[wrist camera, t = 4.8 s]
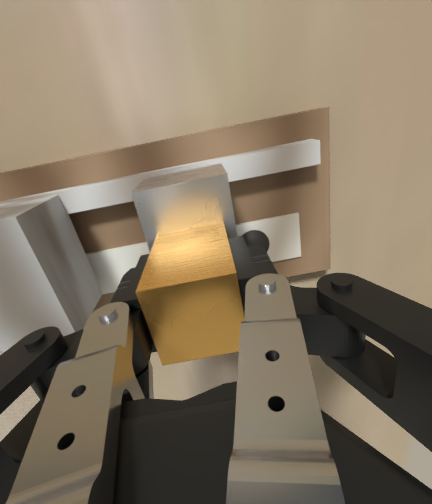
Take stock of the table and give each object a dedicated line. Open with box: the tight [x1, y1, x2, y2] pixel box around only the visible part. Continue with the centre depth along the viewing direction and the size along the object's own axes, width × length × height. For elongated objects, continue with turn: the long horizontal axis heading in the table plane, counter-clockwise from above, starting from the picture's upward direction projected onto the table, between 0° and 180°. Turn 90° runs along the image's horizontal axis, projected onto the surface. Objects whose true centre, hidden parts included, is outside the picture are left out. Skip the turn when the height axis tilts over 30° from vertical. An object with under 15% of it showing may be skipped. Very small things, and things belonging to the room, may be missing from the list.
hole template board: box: [0, 107, 330, 352], centre depth 16 cm, size 22×10×6 cm, turn 100°
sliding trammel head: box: [131, 163, 244, 365], centre depth 13 cm, size 4×6×9 cm, turn 11°
